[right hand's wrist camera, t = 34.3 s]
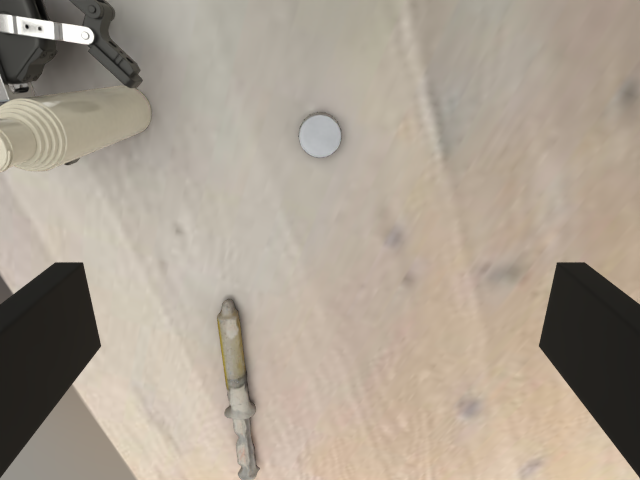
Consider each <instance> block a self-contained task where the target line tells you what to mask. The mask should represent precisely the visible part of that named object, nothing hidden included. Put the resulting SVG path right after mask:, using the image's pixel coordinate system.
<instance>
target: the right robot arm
mask: <svg viewBox="0 0 640 480" xmlns="http://www.w3.org/2000/svg"><path fill="white" fill-rule="evenodd" d="M100 347H101V344H100V339H99V334H98V330H97V325H96V320H95V316H94V311H93V307H92V302H91V297H90V293H89V288H88V284H87V279H86V274H85V270H84V265H83V263H54V264H53V265H51V266H50V267H49V268H47V269H46V270H45V271H44V272H42V273H41V274H40V275H38V276H37V277H36V278H34V279H33V280H32V281H30V282H29V283H28V284H27V285H25V286H24V287H23V288H21V289H20V290H19V291H17V292H16V293H15V294H13V295H12V296H11V297H10V298H8V299H7V300H6V301H4V302H3V303H2V304H0V478H1V476H2V475H3V474H4V472H5V471H6V470H7V468H8V467H9V466H10V464H11V463H12V462H13V461H14V459H15V458H16V457H17V455H18V454H19V453H20V451H21V450H22V449H23V447H24V446H25V445H26V444H27V442H28V441H29V440H30V438H31V437H32V436H33V434H34V433H35V432H36V430H37V429H38V428H39V427H40V425H41V424H42V423H43V421H44V420H45V419H46V417H47V416H48V415H49V413H50V412H51V411H52V410H53V408H54V407H55V406H56V404H57V403H58V402H59V400H60V399H61V398H62V396H63V395H64V394H65V393H66V391H67V390H68V389H69V387H70V386H71V385H72V383H73V382H74V381H75V380H76V378H77V377H78V376H79V374H80V373H81V372H82V370H83V369H84V368H85V366H86V365H87V364H88V363H89V361H90V360H91V359H92V357H93V356H94V355H95V353H96V352H97V351H98V350H99V348H100ZM539 347H540V348H541V350H542V351H543V352H544V353H545V355H546V356H547V357H548V359H549V360H550V361H551V363H552V364H553V365H554V366H555V368H556V369H557V370H558V372H559V373H560V374H561V376H562V377H563V378H564V380H565V381H566V382H567V383H568V385H569V386H570V387H571V389H572V390H573V391H574V393H575V394H576V395H577V397H578V398H579V399H580V400H581V402H582V403H583V404H584V406H585V407H586V408H587V410H588V411H589V412H590V414H591V415H592V416H593V417H594V419H595V420H596V421H597V423H598V424H599V425H600V427H601V428H602V429H603V430H604V432H605V433H606V434H607V436H608V437H609V438H610V440H611V441H612V442H613V444H614V445H615V446H616V447H617V449H618V450H619V451H620V453H621V454H622V455H623V457H624V458H625V459H626V461H627V462H628V463H629V464H630V466H631V467H632V468H633V470H634V471H635V472H636V474H637V475H638V476H639V478H640V304H638V303H637V302H636V301H634V300H633V299H632V298H630V297H629V296H628V295H627V294H625V293H624V292H623V291H621V290H620V289H619V288H617V287H616V286H615V285H613V284H612V283H611V282H610V281H608V280H607V279H606V278H604V277H603V276H602V275H600V274H599V273H598V272H596V271H595V270H594V269H593V268H591V267H590V266H589V265H587V264H586V263H557V265H556V270H555V274H554V279H553V284H552V288H551V293H550V297H549V302H548V307H547V311H546V316H545V320H544V325H543V330H542V334H541V339H540V344H539Z"/></svg>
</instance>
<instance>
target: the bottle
mask: <svg viewBox="0 0 640 480" xmlns="http://www.w3.org/2000/svg"><path fill="white" fill-rule="evenodd" d="M150 120H151V108H150V104H149V102H148V100H147V99H146V97H145V96H144V95H143V94H142V93H141V92H140V91H139V90H137V89H135V88H128V87H127V86H125V85H121V86H113V87H105V88H97V89H89V90H81V91H74V92H66V93H58V94H50V95H42V96H34V97H26V98H18V99H13V100H10V101H8V102H6V103H5V104H3V105H1V106H0V172H3V171H6V170H7V169H8V168H10V167H13V166H15V167H18V168H20V169H23V170H27V171H47V170H50V169H53V168H55V167H58V166H60V165H63V164H65V163H68V162H70V161H72V160H75V159H77V158H80V157H82V156H85V155H87V154H90V153H92V152H95V151H97V150H100V149H102V148H105V147H107V146H109V145H112V144H114V143H117V142H119V141H122V140H124V139H127V138H129V137H132V136H134V135H137V134H139V133H141V132H143V131H144V130H145V129H146V128H147V127H148V125H149V123H150Z"/></svg>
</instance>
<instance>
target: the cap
mask: <svg viewBox="0 0 640 480" xmlns="http://www.w3.org/2000/svg"><path fill="white" fill-rule="evenodd" d="M298 137H299V141H300V145H301V146H302V148H303V150H304V151H305V152H306V153H308V154H309V155H311V156H313V157H317V158H323V157H327V156H329V155H331V154H333V153H334V152H335V151H336V150H337V148H338V147H339V145H340V142H341V129H340V127H339V125H338V121H336V120H335V119H334V118H333V116H331V115H329V114H327V113H322V112H317V113H314V114H311V115H309V116H308V117H307V118H306V119H304V121H303V123H302V125H301V126H300V132H299V136H298Z"/></svg>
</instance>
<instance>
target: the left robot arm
mask: <svg viewBox="0 0 640 480" xmlns="http://www.w3.org/2000/svg"><path fill="white" fill-rule="evenodd" d="M69 1H71V2H72V3H73V4H74V5H75V6H76V7H78V8H79V9H80V10H81V11H82V12H84V13H85V18H84V22H83V26H79V25H73V24H66V23H60V22H53V21H50V20H49V17H48V14H47V11H46V8H45V5H44V2H43V0H0V106H1V105H3V104H5V103H6V102H8V101H10V100H13V99H18V98H26V97H34V96H35V93H34V90H33V87H32V84H31V81H36V80H37V79H38V78H39V76H40V75H41V74H42V71H43V68H44V65H45V64H46V63H47V62H48V61H50V60H51V59H53V57H54V56H55V55H56V53H57V52H58V51H57V50H56V40H59V41H66V42H73V43H79V44H86V45H88V46H89V47H90V49H89V51H88V52H89V53H91V54H92V55H93V56H94V57H95V58H96V59H97V60H98V61H99V62H100V63H101V64H102V65H104V66H105V67H106V68H107V69H108V70H109V71H110V72H111V73H112V74H113V75H114V76H115V77H117V78H118V79H119V80H120V81H121V82H122V83H123V84H124V85H125V86H127V87H128V88H137V87H138V86H139V85H140V84H141V82H142V81H143V80H142V78H141V77H140V76H139V75H138V73H139V72H140V69H139V67H138V65H137V63H135V62H134V61H133V60H132V59H131V58H130V57H129V56H128V55H127V54H126V53H125V52H124V51H123V50H122V49H121V48H120V47H119V46H118V45H116V44H115V43H114V42H113V41H112V40H111V38H110V36H109V33H108V29H109V25H110V21H112V20H113V19H114V17H115V11H114V9H113V7H112V6H111V5H110V4H108V3H107V2H106V1H105V0H69ZM8 84H13V86H14V89H15V92H14V93H13V92H12V91H11V90H10V88H9V85H8ZM79 159H80V158H77V159H75V160H72V161H70V162H68V163H65V165H70V164H73V163H75V162H77V161H78V160H79Z"/></svg>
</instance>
